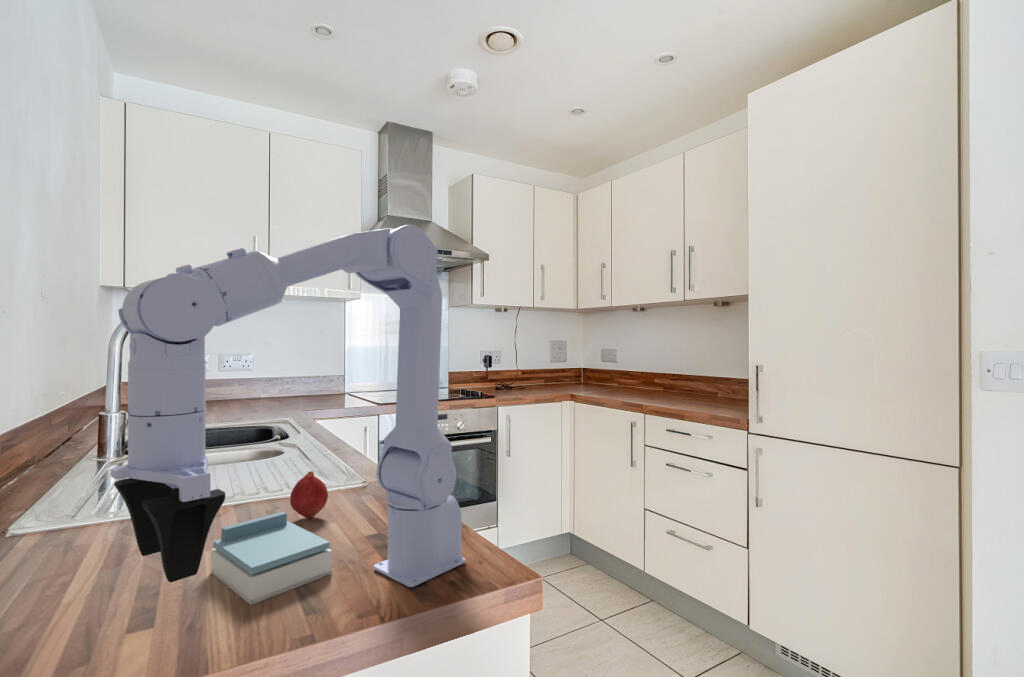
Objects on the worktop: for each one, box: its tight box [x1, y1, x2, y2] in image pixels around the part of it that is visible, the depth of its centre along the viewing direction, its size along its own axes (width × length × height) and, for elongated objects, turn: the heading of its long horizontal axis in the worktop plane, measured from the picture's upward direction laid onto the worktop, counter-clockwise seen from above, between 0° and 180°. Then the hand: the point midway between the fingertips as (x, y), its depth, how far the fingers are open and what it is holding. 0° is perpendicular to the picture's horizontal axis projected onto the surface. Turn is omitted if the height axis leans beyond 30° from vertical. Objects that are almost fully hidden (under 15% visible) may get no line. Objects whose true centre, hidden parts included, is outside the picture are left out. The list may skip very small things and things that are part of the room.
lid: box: [212, 511, 331, 575], centre depth 65 cm, size 10×12×2 cm
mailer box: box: [210, 548, 333, 606], centre depth 65 cm, size 10×12×3 cm
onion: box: [289, 470, 329, 520], centre depth 85 cm, size 6×6×8 cm
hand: (167, 563), depth 45 cm, fingers open, 7 cm apart
